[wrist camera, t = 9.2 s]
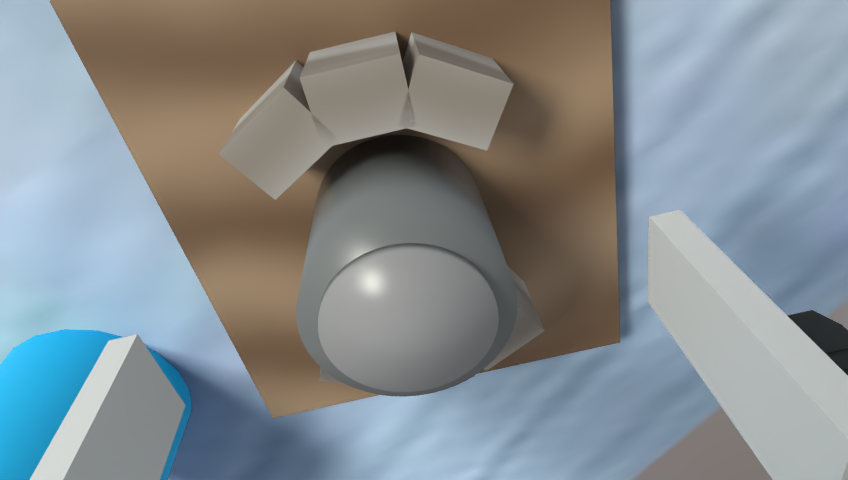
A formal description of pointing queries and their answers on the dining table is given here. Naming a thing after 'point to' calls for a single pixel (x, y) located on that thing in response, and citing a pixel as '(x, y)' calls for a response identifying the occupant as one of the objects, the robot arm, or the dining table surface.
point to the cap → (403, 271)
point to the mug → (56, 395)
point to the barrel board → (354, 124)
